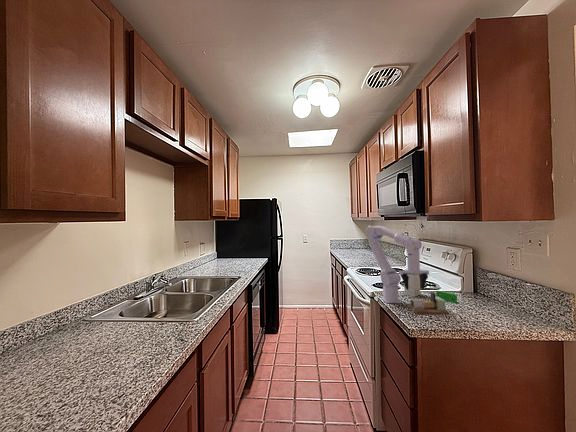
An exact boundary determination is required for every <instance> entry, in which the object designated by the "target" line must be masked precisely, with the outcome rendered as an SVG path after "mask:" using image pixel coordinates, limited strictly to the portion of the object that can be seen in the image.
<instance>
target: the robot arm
mask: <svg viewBox="0 0 576 432" xmlns="http://www.w3.org/2000/svg"><path fill="white" fill-rule="evenodd" d="M365 235H366V238H367V241H368V245H369V248H370V249H371V251H372V254H373V256H374V258H375V259H376V261H377V264H378V266H379V268H380V270H381V271H380V272H379V276H380V281H381V284H383V286H382V297H381V300H382V301H384V302H385V303H386V304H401V303H402V301H400V300H399V284H400V282H401V279H402V281H403V285H404V284H405V288H406V289H408V288H409V287H408V280H409V277H408V275H419V277H420V290H421V289H422V290H424V288H425V284H426V282H427V280H428V278H429V276H430V271H429V270H427V269H426V270H425V269H421V265H420V264H421V263H420V262H421V260H420V259H421V258H420V257H421V256H420V249H421V248H422V241H421V240H420V239H419V238H413V237H412V236H408V235H406V234H405V232H398V233H397V232H394V231H393V230H391V229H389V228H387V227H386V226H383V225H368V226H367V227H366V229H365ZM383 236H386V237H388V238H391V239H393V240H394V242H395V243H396V244H398V245H400V246H402V247H404V248H405V250H406V253H407V256H406V257H407V269H408V270H398V272H397V271H396V269H395V268H393V267H391V265H390V262H389V261H388V259H387V256H386V254H385V253H384V250H383V249H382V247H381V244H380V241H381V240H382V238H383ZM408 273H409V274H408Z"/></svg>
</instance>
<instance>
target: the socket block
mask: <svg viewBox="0 0 576 432" xmlns="http://www.w3.org/2000/svg"><path fill="white" fill-rule="evenodd" d="M435 300H436V302H437V310H446V301H445V300H443V299H442V298H440V297H437V296H435Z"/></svg>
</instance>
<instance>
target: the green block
mask: <svg viewBox="0 0 576 432" xmlns="http://www.w3.org/2000/svg"><path fill="white" fill-rule="evenodd" d="M435 292H436V293H435V297H440V298H442V299H443V300H445V302H447V303H453V304H458V294H455V293H454V292H448V291H446V290H444V291H440V290H436V291H435Z"/></svg>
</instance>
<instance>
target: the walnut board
mask: <svg viewBox="0 0 576 432" xmlns="http://www.w3.org/2000/svg"><path fill="white" fill-rule="evenodd" d="M406 308H408V309H410V310H411V311H412V312H413V313H415V314H416V315H431V314H432V315H444V314H445V315H446V314H447V315H448V314H449V311H448V310H437V307H424V309H413V308H412V307H411V303H408V304H406Z"/></svg>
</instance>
